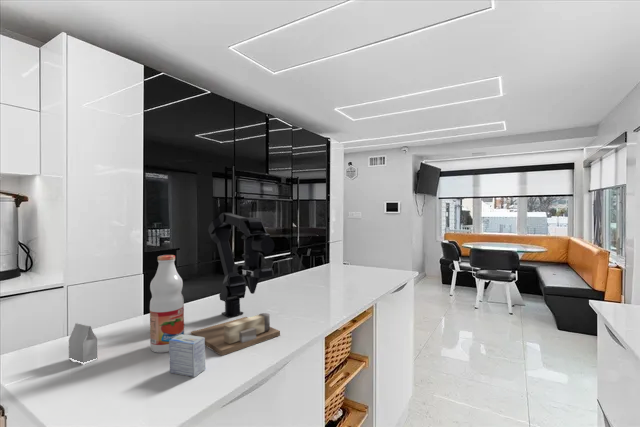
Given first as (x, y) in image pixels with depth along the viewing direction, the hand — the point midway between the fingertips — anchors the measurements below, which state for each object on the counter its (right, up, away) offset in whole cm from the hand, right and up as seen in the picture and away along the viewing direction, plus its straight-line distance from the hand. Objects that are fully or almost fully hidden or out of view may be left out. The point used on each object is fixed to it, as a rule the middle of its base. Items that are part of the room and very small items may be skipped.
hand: (252, 293), depth 119 cm
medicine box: (-9, -12, -36) cm, 39 cm away
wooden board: (-3, -11, -12) cm, 17 cm away
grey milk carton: (-42, -12, -29) cm, 52 cm away
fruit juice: (-22, -12, -20) cm, 32 cm away
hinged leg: (+2, -9, -16) cm, 19 cm away
